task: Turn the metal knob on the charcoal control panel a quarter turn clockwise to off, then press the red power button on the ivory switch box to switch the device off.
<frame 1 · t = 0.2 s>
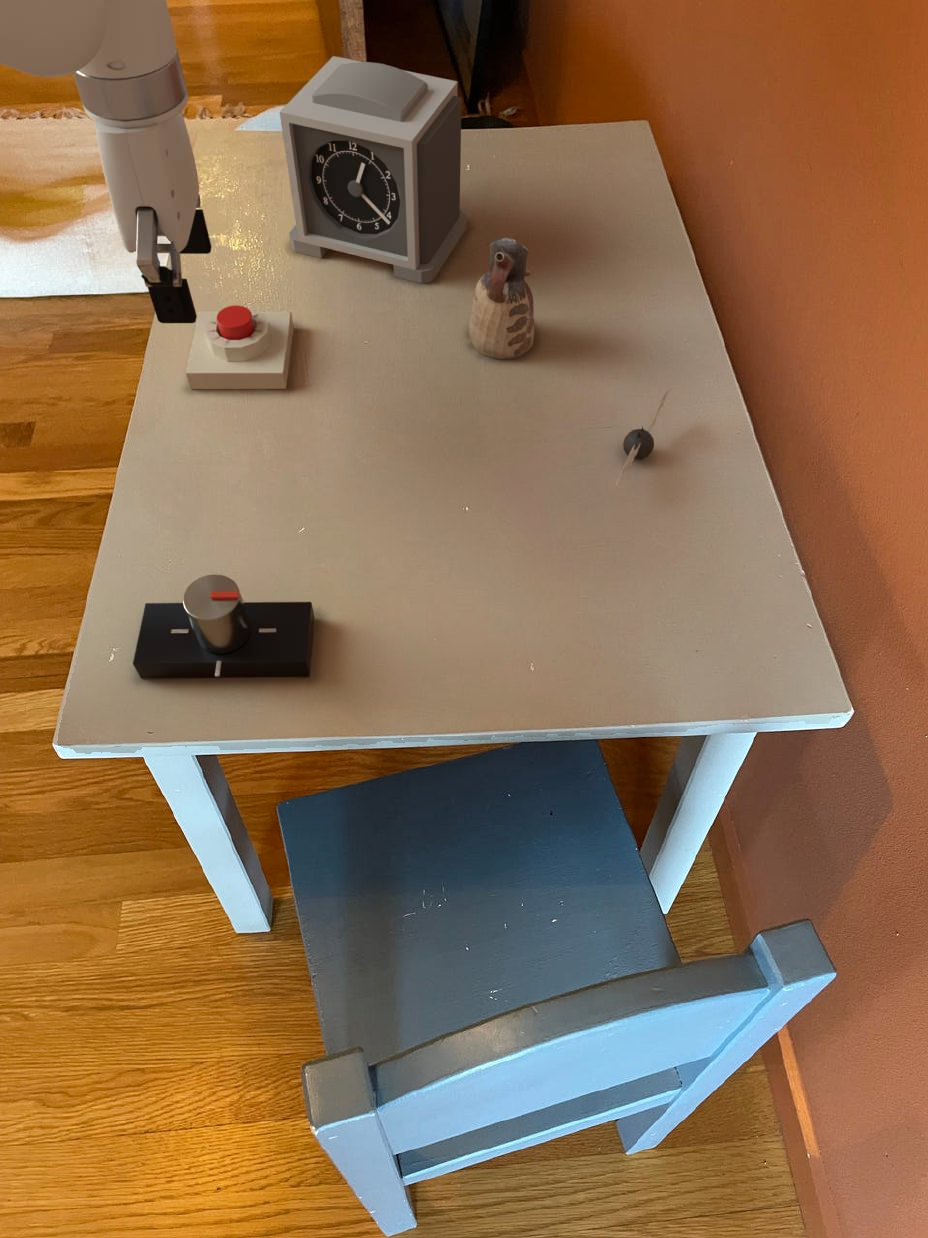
hand: (186, 285, 80), 16 cm above the table, tool pointing down, fingers open, 9 cm apart
figurine: (501, 340, 100), on the table
alarm clock: (379, 238, 110), on the table
knob: (217, 613, 73), point 5 cm above the table, hinge at 0.0°
panel: (230, 647, 77), on the table
power button: (235, 322, 94), point 4 cm above the table, slide at 0.1 cm
switch box: (243, 357, 98), on the table
bat toy: (635, 455, 91), on the table
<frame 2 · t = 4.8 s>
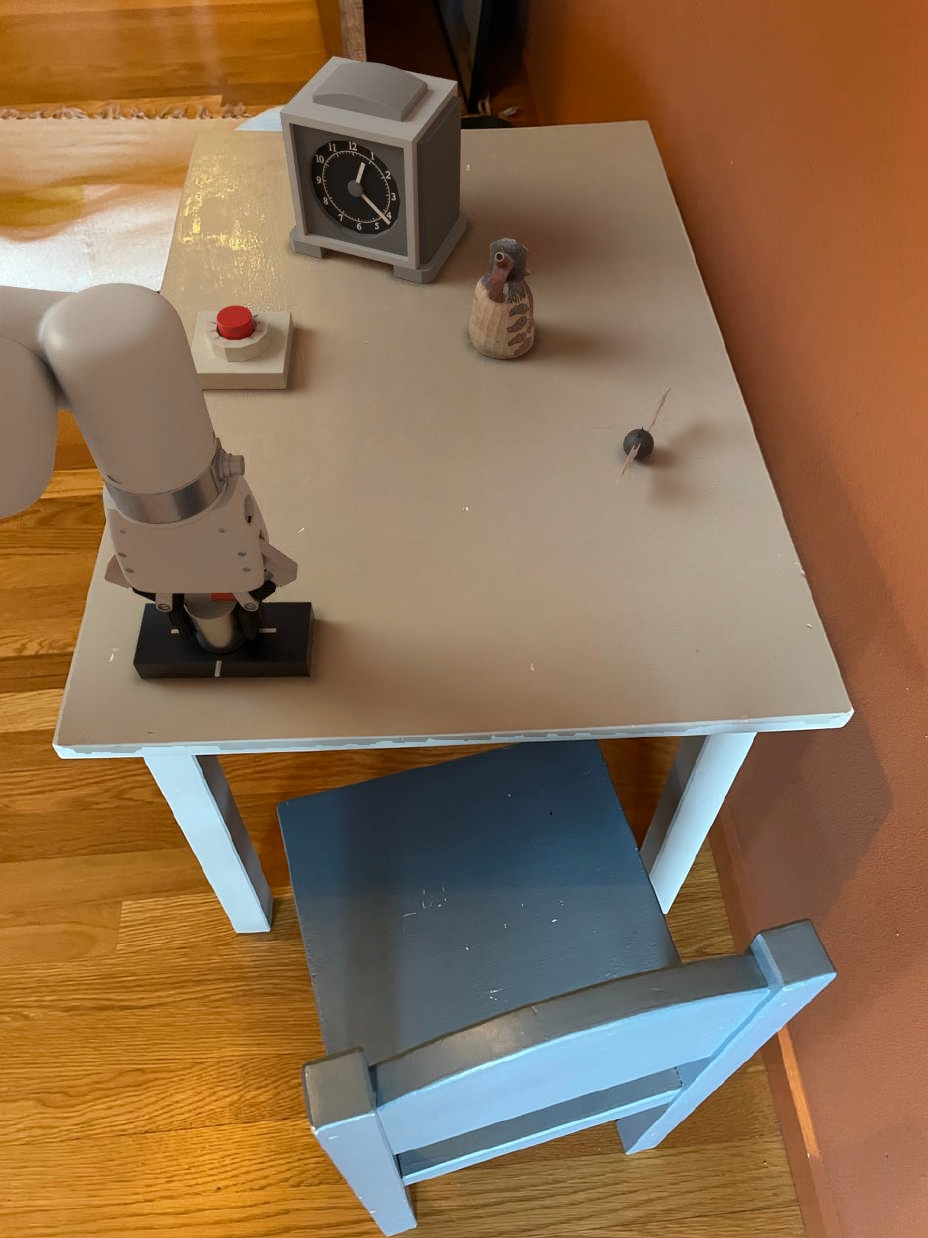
hand: (221, 624, 74), 4 cm above the table, tool pointing down, fingers closed on knob, 4 cm apart
knob: (217, 613, 73), point 5 cm above the table, hinge at 0.0°, touching gripper
everything else where it was.
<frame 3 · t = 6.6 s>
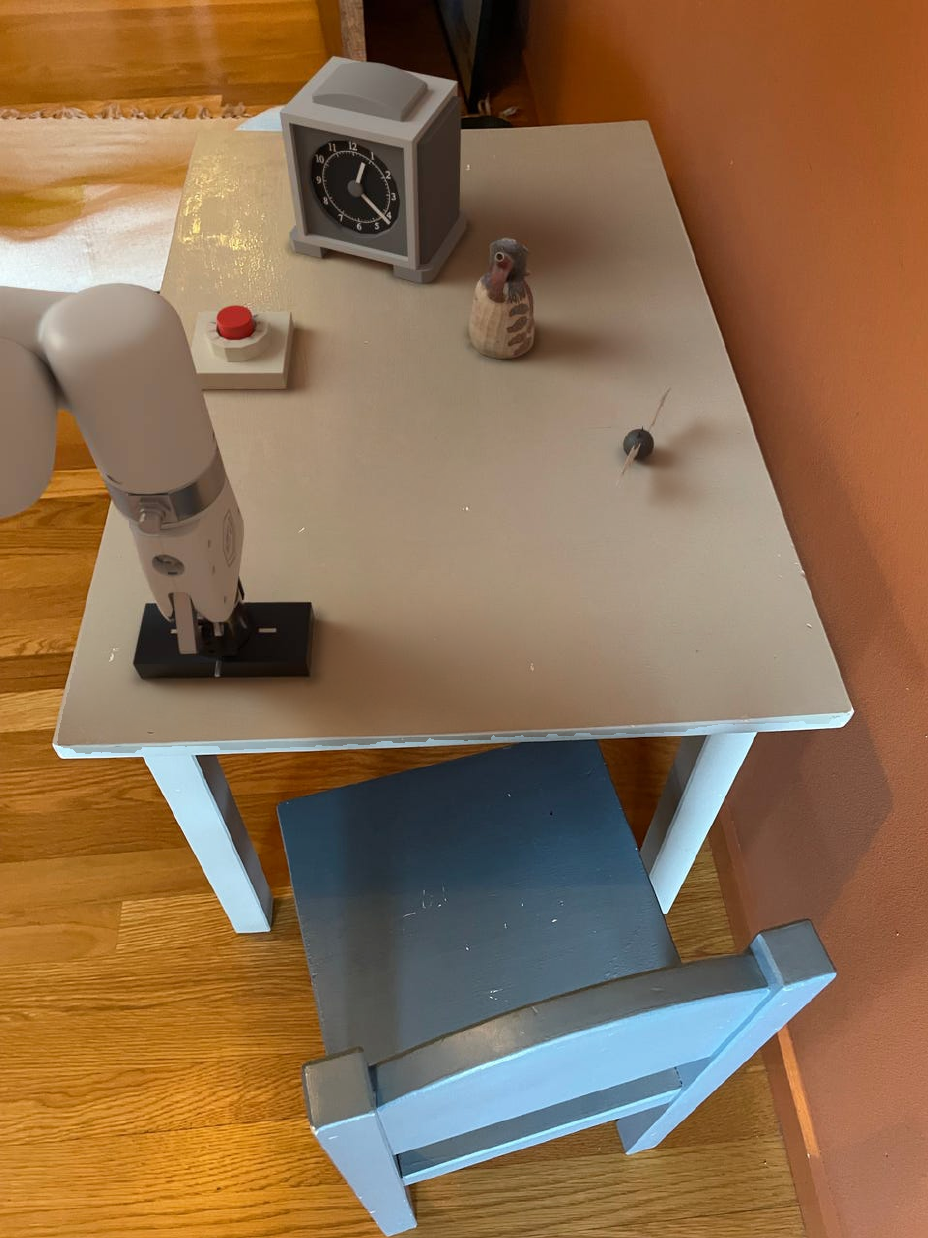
hand: (221, 624, 74), 4 cm above the table, tool pointing down, fingers closed on knob, 4 cm apart
knob: (217, 613, 73), point 5 cm above the table, hinge at -90.3°, touching gripper
everything else where it was.
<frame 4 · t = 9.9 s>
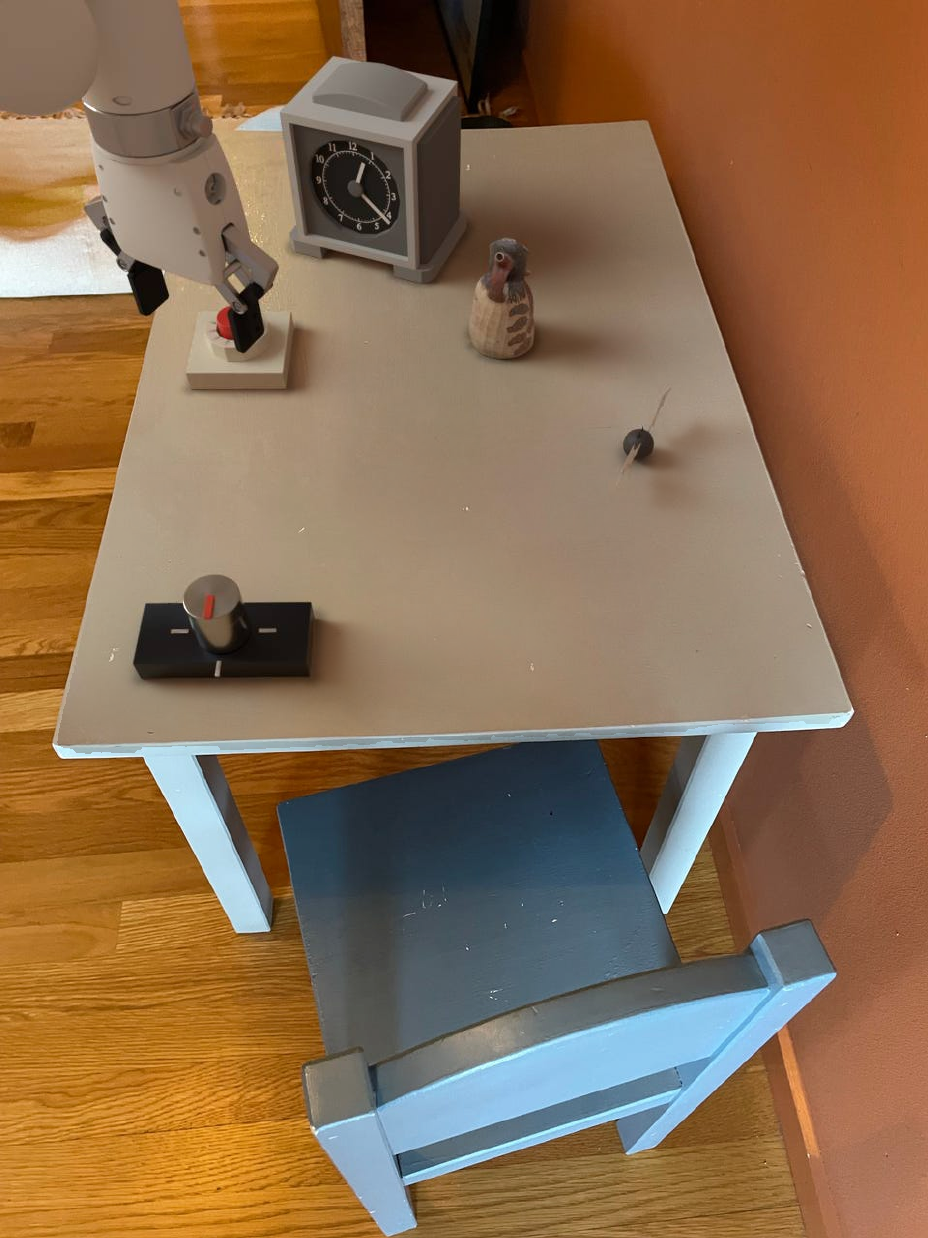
hand: (202, 324, 75), 17 cm above the table, tool pointing down, fingers open, 9 cm apart
knob: (217, 613, 73), point 5 cm above the table, hinge at -89.5°
everything else where it was.
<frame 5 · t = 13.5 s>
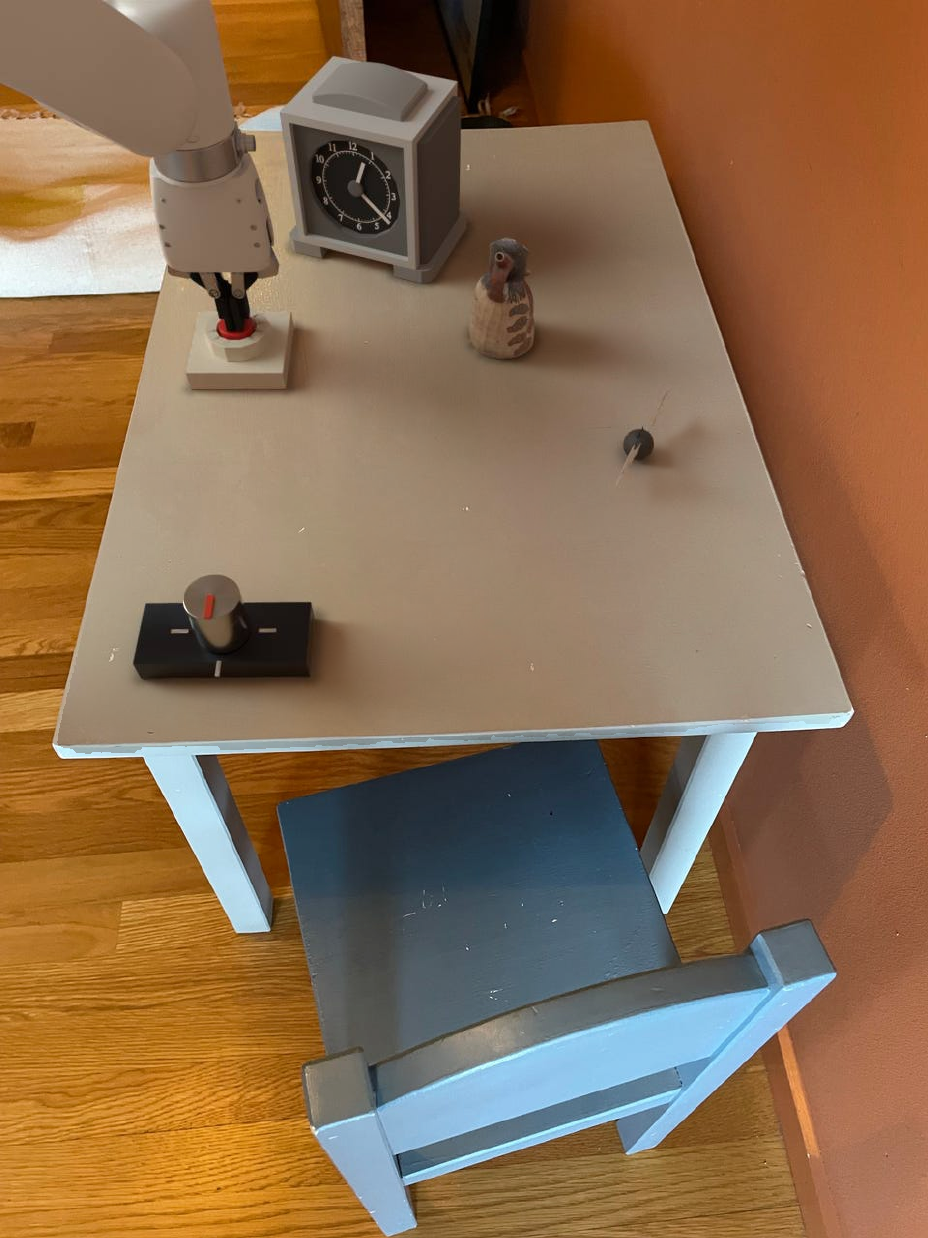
hand: (236, 322, 94), 4 cm above the table, tool pointing down, fingers closed
power button: (237, 330, 95), point 4 cm above the table, slide at -0.8 cm, touching gripper
everything else where it was.
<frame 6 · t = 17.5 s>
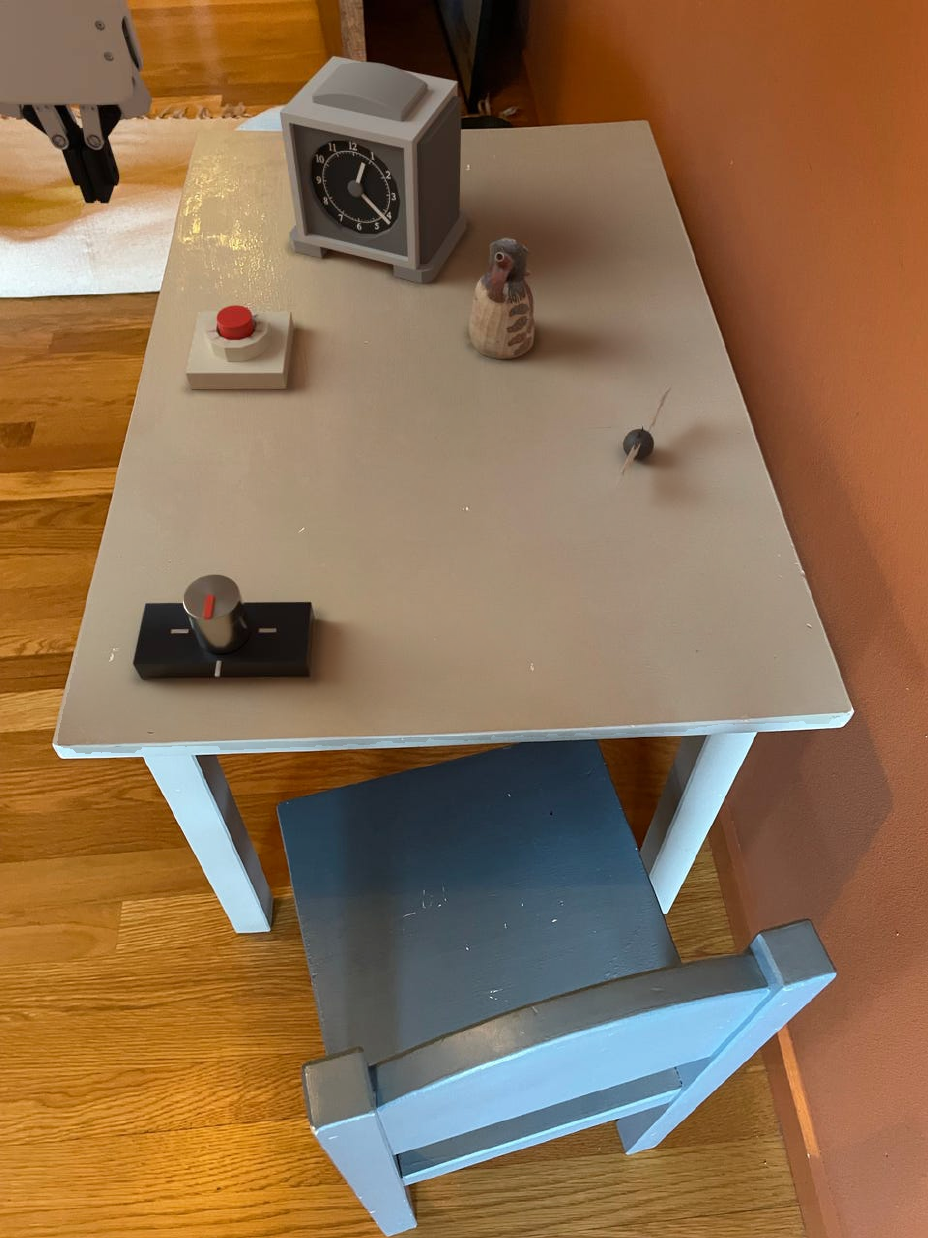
hand: (101, 192, 67), 27 cm above the table, tool pointing down, fingers closed
power button: (235, 322, 94), point 4 cm above the table, slide at 0.1 cm
everything else where it was.
at the end: knob at -90° (first picture: +0°); power button pushed in 1.0 cm at the most during the clip, back to where it started at the end; power button slide at 0.1 cm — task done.
